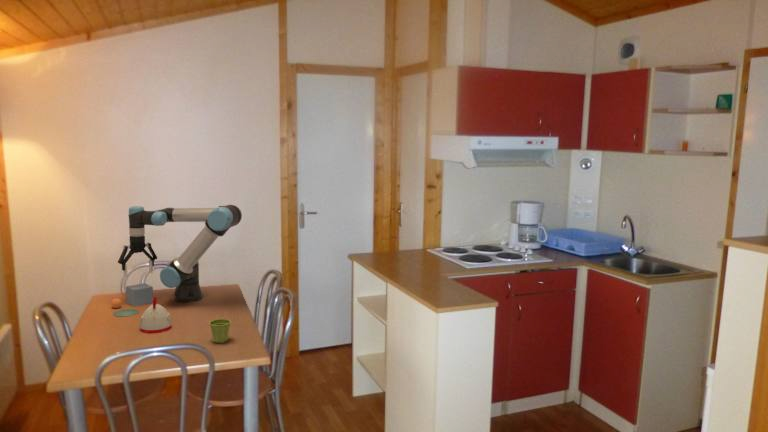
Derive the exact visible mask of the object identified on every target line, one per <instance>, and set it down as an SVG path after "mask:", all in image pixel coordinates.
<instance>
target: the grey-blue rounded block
mask: <svg viewBox="0 0 768 432" xmlns="http://www.w3.org/2000/svg"><path fill="white" fill-rule="evenodd" d="M125 295H126V297H125V298H126V300H125V301H126V303H127V304H128V305H131V306H133V307H138V306H143V305H147V304H153V300H154V287H153V286H152V285H150V284H147V283H145V282H144V283H140V284H139V283H138V284H131V285H127V286H125Z"/></svg>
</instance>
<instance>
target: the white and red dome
mask: <svg viewBox="0 0 768 432" xmlns="http://www.w3.org/2000/svg"><path fill="white" fill-rule="evenodd" d="M157 299H158V298H157V297H154V296H153V303H152V304H151V305H149V306H148V307H147V308H146V309H145V310H144V312H143V313H142V315H141V316H140V321H139V331H140V333H143V334H159V333H165V332H167V331H169V330H171V329H172V318H171V315H170V314H171V313H170V312H168V310H167V309H166V308H165V307H164V306H162V305H161V304H159V303H158V300H157Z"/></svg>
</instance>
